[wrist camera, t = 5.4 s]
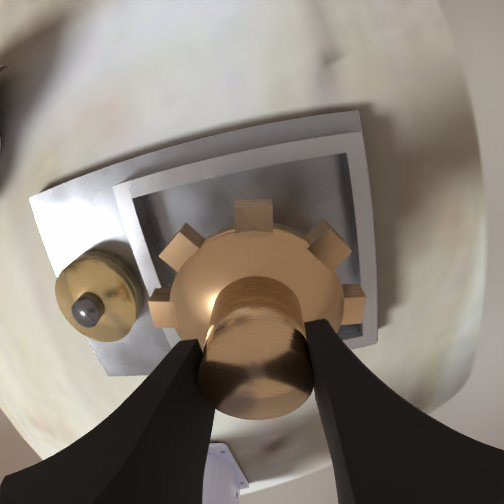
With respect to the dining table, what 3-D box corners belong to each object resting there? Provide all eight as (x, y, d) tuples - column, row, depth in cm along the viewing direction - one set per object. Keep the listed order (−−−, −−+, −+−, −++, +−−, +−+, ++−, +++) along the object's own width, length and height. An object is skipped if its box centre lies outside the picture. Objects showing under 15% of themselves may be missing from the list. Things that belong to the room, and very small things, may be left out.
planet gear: (344, 368, 14) (365, 446, 10) (174, 371, 14) (152, 448, 10) (367, 197, 10) (427, 248, 6) (141, 204, 11) (79, 256, 7)
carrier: (373, 332, 18) (390, 368, 15) (113, 367, 20) (95, 400, 17) (352, 111, 14) (377, 107, 10) (38, 193, 15) (1, 210, 12)
